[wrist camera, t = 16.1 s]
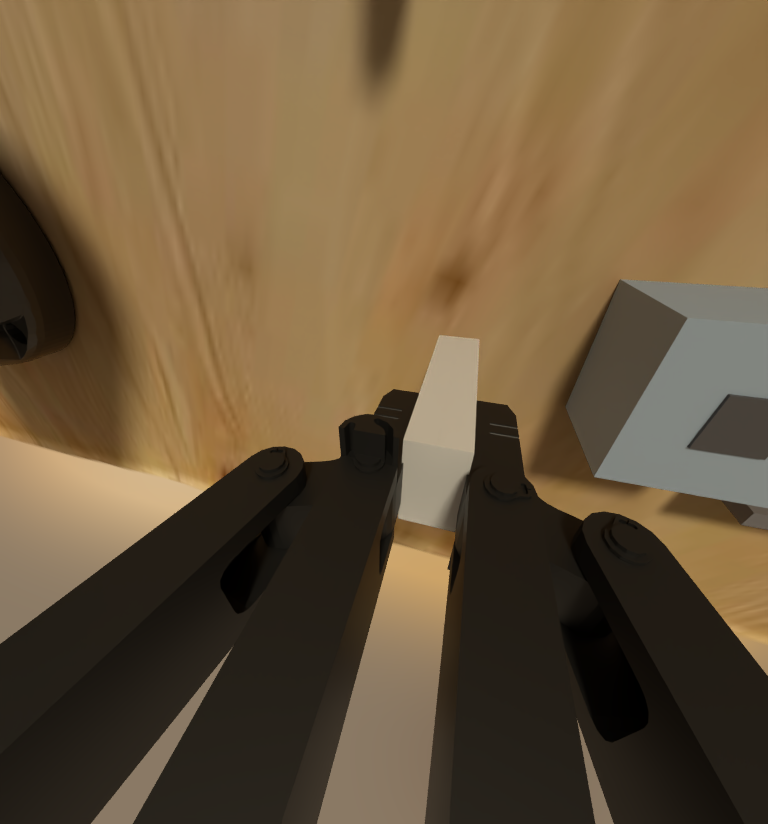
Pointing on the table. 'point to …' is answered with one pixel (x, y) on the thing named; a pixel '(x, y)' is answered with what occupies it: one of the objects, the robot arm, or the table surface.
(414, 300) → the table surface
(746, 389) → the block
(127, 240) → the table surface
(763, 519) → the corral
